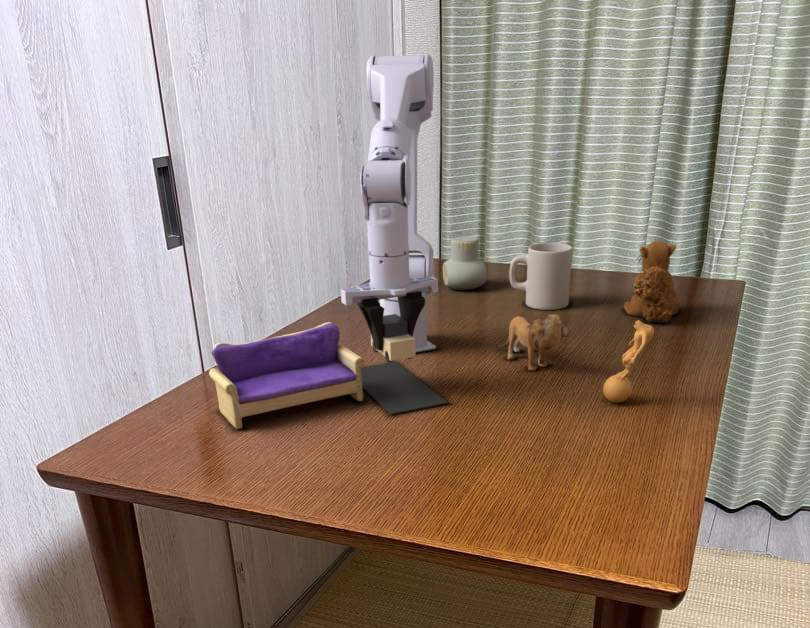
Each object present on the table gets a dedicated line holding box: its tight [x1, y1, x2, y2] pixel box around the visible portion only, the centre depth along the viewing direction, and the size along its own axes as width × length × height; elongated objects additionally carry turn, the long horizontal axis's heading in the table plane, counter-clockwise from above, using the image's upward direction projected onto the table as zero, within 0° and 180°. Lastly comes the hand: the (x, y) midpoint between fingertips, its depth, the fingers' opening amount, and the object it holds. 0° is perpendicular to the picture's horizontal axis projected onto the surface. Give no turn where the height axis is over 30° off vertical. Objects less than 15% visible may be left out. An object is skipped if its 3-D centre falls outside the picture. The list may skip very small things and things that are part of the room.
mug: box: [508, 242, 573, 311], centre depth 160 cm, size 12×8×11 cm
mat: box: [361, 361, 449, 416], centre depth 125 cm, size 20×9×1 cm, turn 23°
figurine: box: [602, 319, 655, 404], centre depth 115 cm, size 8×6×12 cm
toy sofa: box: [208, 321, 365, 430], centre depth 117 cm, size 21×9×10 cm, turn 118°
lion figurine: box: [498, 313, 569, 372], centre depth 131 cm, size 15×5×9 cm, turn 33°
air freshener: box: [442, 235, 488, 291], centre depth 172 cm, size 11×8×10 cm
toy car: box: [370, 314, 416, 363], centre depth 121 cm, size 8×4×5 cm, turn 23°
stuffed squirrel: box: [623, 240, 681, 323], centre depth 149 cm, size 10×14×13 cm
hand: (392, 346), depth 122 cm, fingers closed on toy car, 4 cm apart
